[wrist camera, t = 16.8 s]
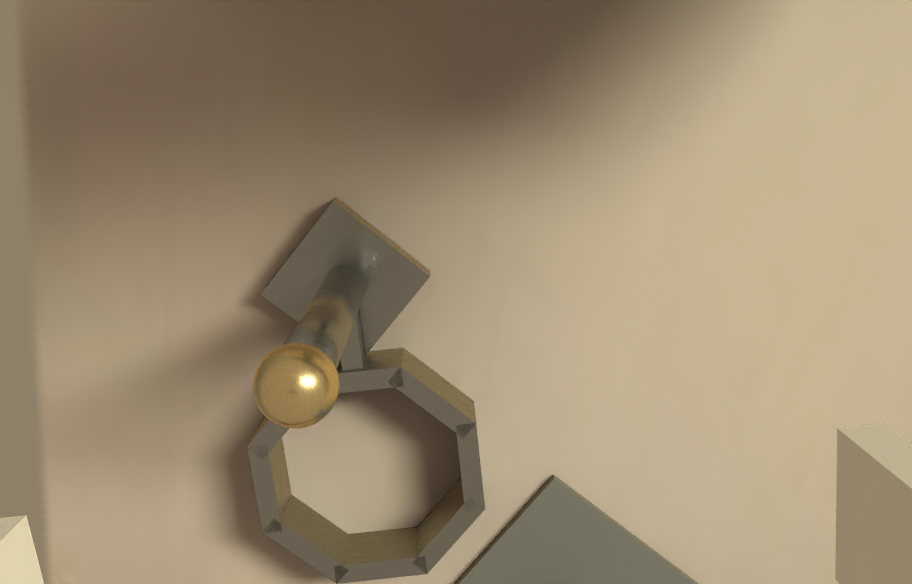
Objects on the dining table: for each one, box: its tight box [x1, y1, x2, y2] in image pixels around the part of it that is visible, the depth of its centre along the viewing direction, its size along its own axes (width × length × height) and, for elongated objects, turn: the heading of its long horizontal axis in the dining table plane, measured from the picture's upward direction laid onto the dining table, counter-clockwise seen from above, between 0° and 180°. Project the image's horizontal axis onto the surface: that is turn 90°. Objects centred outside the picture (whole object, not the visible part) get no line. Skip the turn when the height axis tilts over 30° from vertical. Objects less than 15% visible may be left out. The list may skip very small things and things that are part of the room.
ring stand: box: [247, 198, 485, 584], centre depth 40 cm, size 18×18×20 cm
